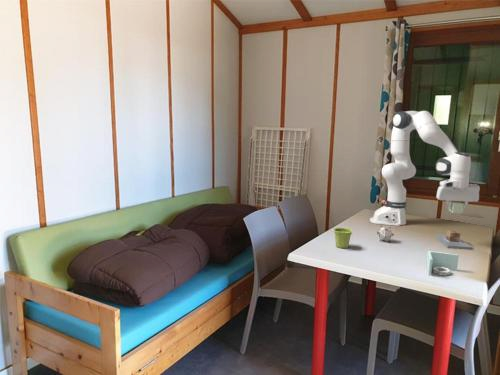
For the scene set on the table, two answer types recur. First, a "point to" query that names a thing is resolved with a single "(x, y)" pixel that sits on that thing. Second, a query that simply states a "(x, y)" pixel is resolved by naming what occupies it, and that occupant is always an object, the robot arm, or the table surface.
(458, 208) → the green cube
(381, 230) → the white spiky ball
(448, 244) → the board
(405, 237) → the table surface
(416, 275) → the table surface
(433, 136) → the robot arm
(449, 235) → the walnut cube
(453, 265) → the l-shaped corner panel
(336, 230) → the plant pot
